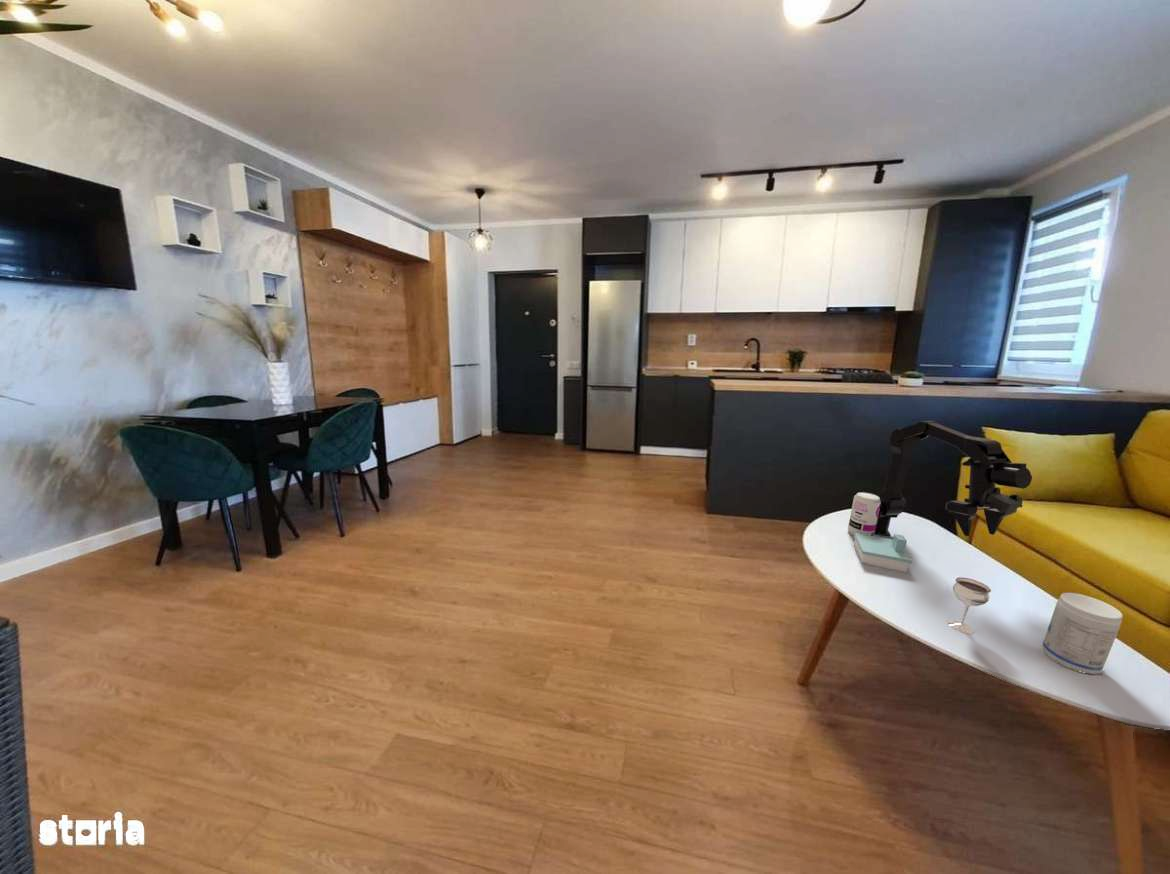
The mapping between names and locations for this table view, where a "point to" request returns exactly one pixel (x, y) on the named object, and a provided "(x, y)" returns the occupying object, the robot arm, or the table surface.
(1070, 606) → the supplement tub
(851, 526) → the supplement can
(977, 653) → the table surface
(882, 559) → the white shallow square tray
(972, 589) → the wineglass
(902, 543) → the lid
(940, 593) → the table surface
